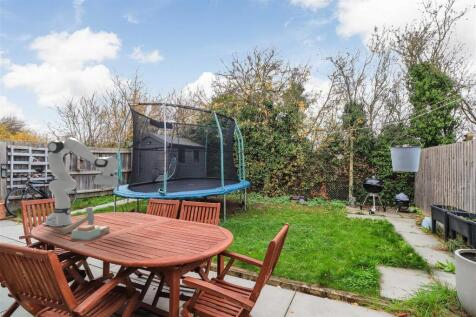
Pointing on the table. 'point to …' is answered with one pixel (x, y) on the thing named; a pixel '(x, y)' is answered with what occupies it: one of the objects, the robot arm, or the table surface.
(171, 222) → the table surface
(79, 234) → the box
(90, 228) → the block
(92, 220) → the hammer
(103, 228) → the board
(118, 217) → the table surface
